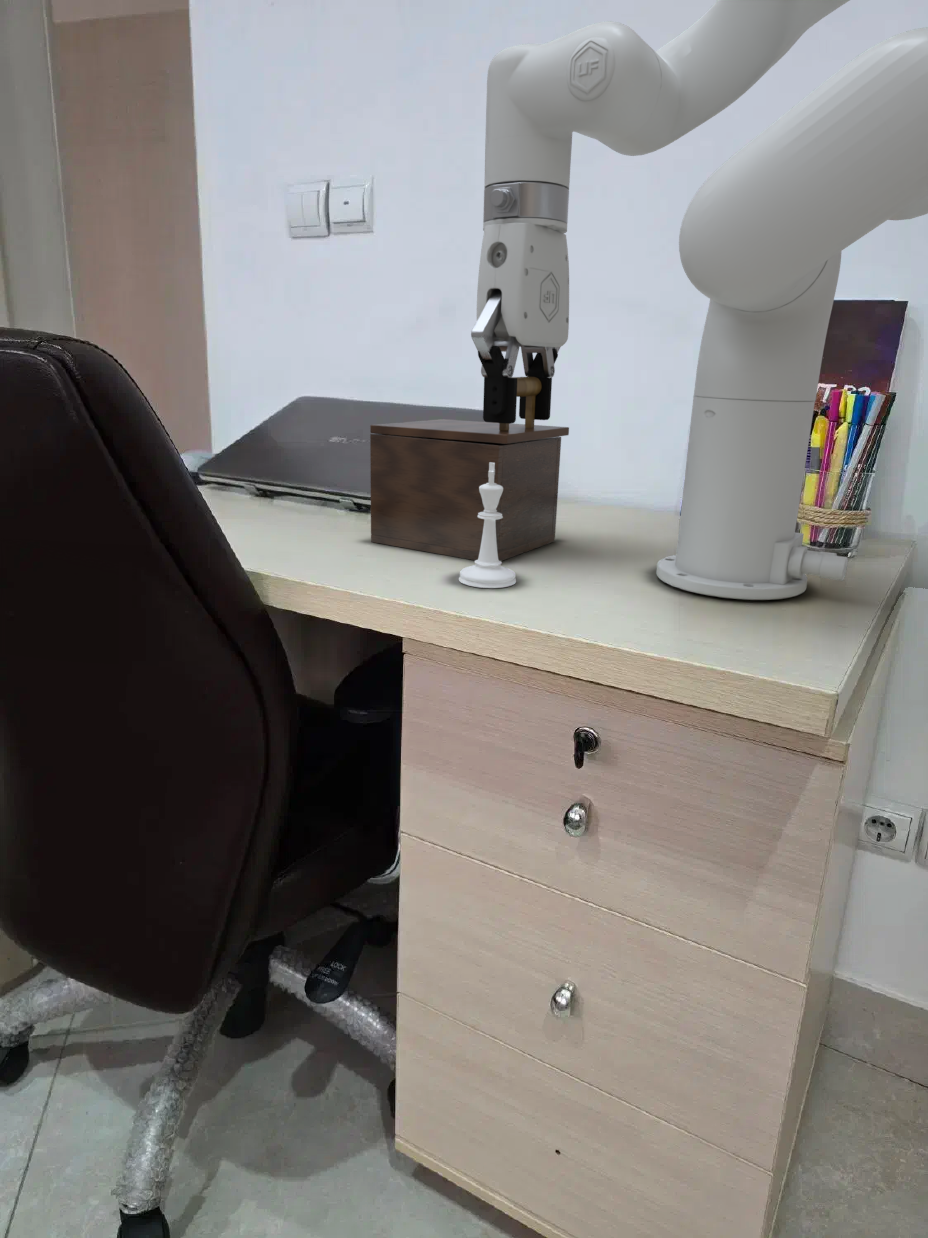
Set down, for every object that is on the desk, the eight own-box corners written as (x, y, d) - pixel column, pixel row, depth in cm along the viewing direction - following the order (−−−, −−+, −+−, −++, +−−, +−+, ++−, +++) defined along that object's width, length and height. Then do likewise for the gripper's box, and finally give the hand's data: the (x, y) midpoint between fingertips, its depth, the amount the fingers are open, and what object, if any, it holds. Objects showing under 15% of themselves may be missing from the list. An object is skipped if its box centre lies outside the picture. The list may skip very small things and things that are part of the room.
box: (555, 541, 87) (561, 436, 84) (494, 563, 77) (498, 445, 73) (440, 523, 94) (442, 426, 91) (370, 541, 84) (370, 433, 81)
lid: (568, 435, 83) (572, 377, 82) (506, 443, 73) (509, 377, 71) (442, 426, 91) (442, 373, 89) (370, 433, 81) (369, 373, 79)
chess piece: (517, 575, 73) (522, 460, 70) (515, 589, 68) (521, 467, 65) (461, 572, 73) (465, 458, 70) (455, 586, 69) (459, 465, 66)
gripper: (515, 192, 65) (506, 428, 70) (603, 224, 79) (590, 419, 84) (436, 200, 68) (433, 423, 74) (533, 229, 82) (525, 415, 88)
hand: (517, 418), depth 79 cm, fingers closed on lid, 6 cm apart
